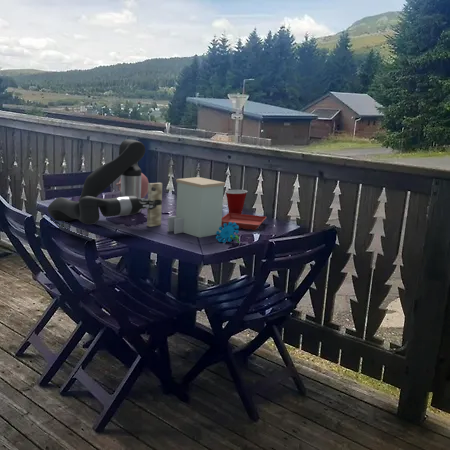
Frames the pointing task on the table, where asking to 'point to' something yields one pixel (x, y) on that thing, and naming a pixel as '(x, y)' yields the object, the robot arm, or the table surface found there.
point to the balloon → (143, 185)
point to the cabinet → (198, 207)
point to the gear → (228, 233)
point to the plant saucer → (243, 220)
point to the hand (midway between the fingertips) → (159, 201)
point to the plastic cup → (235, 200)
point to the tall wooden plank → (155, 213)
